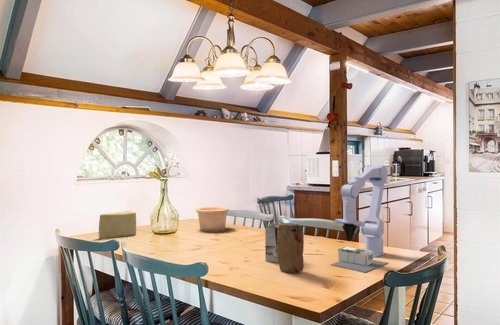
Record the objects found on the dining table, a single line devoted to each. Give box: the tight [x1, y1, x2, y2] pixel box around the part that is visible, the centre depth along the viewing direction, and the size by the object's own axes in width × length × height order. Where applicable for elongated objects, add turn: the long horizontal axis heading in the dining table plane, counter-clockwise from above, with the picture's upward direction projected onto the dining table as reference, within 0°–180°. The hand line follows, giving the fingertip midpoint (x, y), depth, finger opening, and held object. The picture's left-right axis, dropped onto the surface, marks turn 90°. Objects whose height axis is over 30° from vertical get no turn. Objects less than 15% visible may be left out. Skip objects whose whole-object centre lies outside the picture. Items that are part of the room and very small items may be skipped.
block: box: [277, 222, 305, 274], centre depth 165 cm, size 11×8×20 cm
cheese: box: [98, 210, 137, 240], centre depth 243 cm, size 22×10×15 cm, turn 133°
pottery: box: [195, 206, 229, 233], centre depth 262 cm, size 22×22×14 cm
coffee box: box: [264, 223, 279, 263], centre depth 183 cm, size 9×6×16 cm
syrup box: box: [337, 246, 374, 266], centre depth 176 cm, size 6×6×14 cm
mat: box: [330, 259, 389, 274], centre depth 174 cm, size 20×17×1 cm
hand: (349, 240), depth 177 cm, fingers closed
